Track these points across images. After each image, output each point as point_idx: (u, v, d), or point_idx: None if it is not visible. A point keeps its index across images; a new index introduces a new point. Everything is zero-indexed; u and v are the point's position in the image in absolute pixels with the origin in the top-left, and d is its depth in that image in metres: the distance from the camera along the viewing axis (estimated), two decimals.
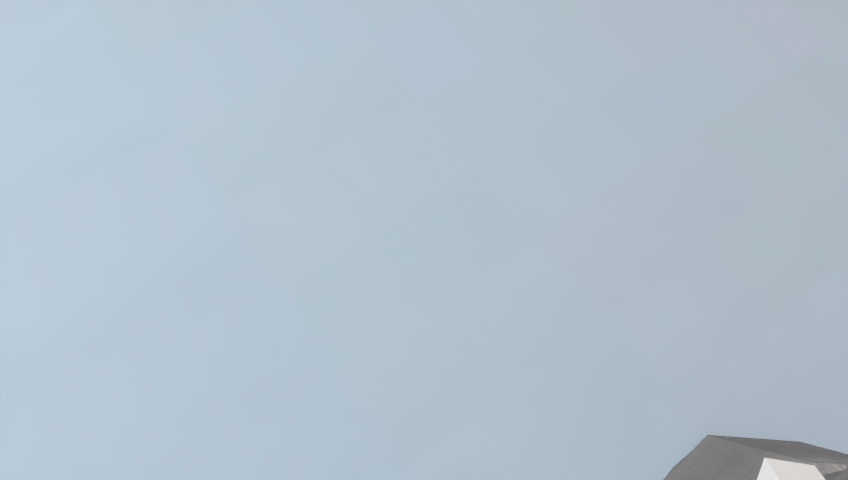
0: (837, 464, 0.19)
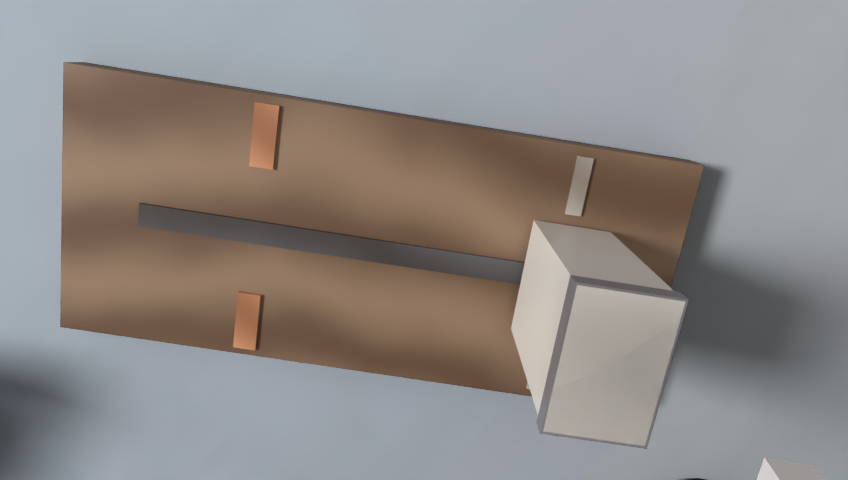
0: None
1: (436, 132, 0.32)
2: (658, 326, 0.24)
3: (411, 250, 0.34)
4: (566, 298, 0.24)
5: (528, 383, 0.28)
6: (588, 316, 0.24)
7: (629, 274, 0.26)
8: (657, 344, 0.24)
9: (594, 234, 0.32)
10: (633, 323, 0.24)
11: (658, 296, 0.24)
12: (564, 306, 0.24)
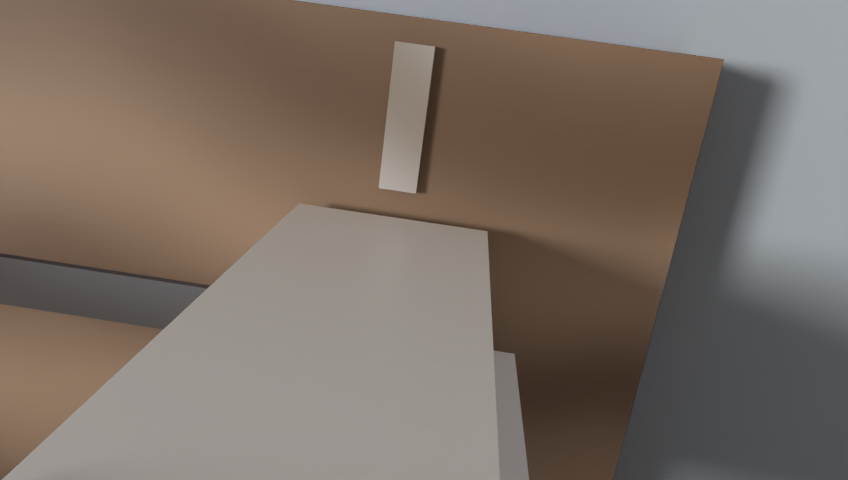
0: None
1: None
2: None
3: (44, 273, 0.15)
4: None
5: None
6: None
7: (366, 427, 0.06)
8: None
9: (430, 239, 0.12)
10: None
11: None
12: None
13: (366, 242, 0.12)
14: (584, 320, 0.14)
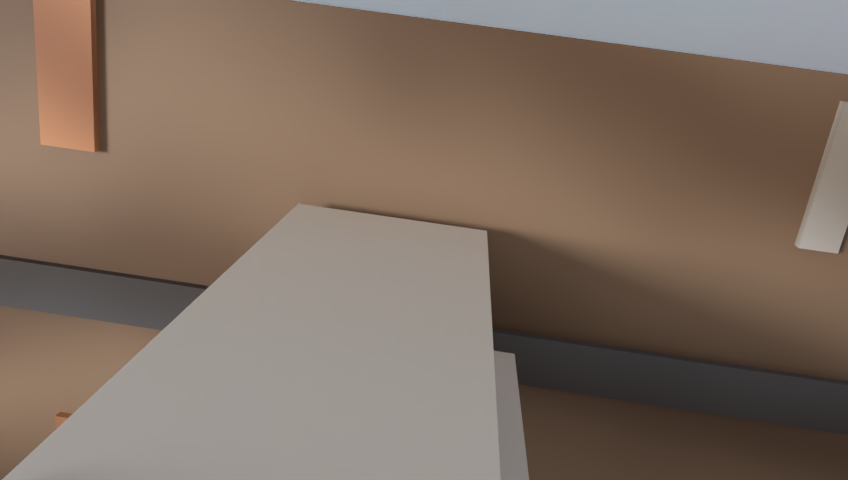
0: None
1: (477, 51, 0.13)
2: None
3: None
4: None
5: None
6: None
7: (366, 426, 0.06)
8: None
9: (429, 239, 0.12)
10: None
11: None
12: None
13: (366, 242, 0.12)
14: None
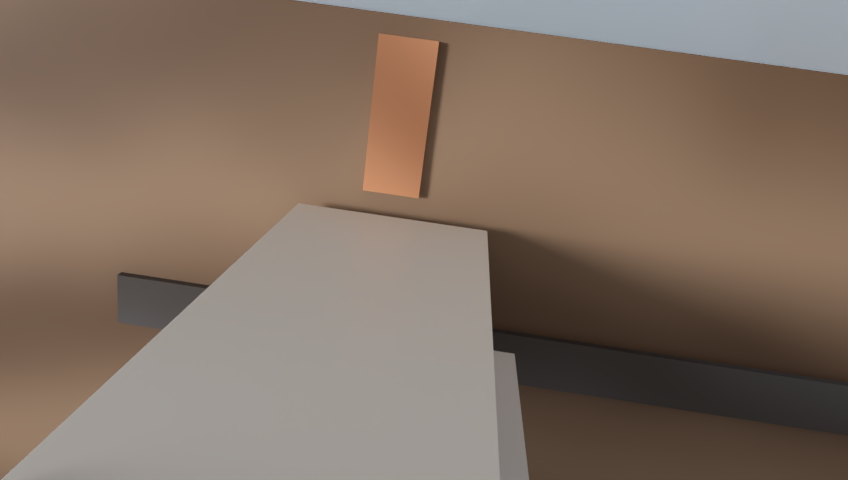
0: None
1: (834, 99, 0.13)
2: None
3: (736, 380, 0.14)
4: None
5: None
6: None
7: (366, 426, 0.06)
8: None
9: (429, 239, 0.12)
10: None
11: None
12: None
13: (366, 242, 0.12)
14: None
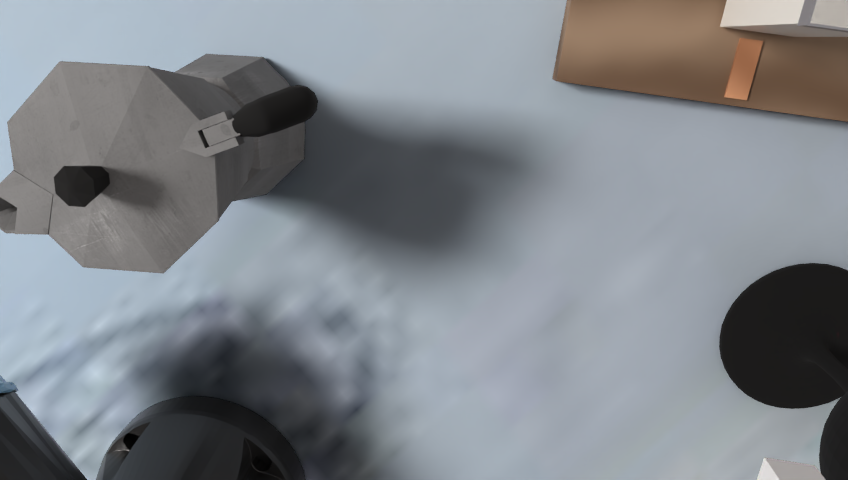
0: None
1: None
2: None
3: None
4: None
5: (769, 23, 0.29)
6: None
7: None
8: None
9: None
10: None
11: None
12: None
13: None
14: None
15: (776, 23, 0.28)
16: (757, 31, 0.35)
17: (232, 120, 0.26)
